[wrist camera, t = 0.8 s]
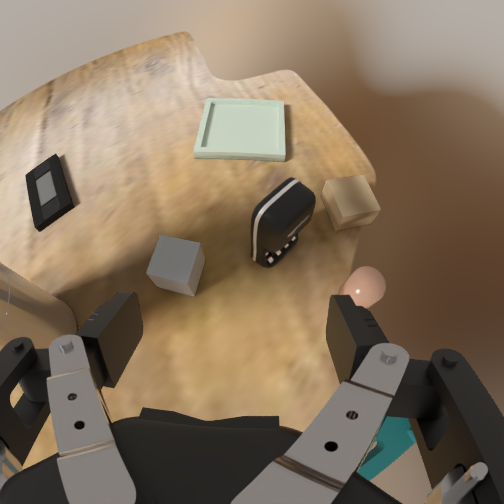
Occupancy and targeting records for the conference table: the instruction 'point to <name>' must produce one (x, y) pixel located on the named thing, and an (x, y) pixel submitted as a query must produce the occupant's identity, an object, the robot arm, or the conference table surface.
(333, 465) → the robot arm
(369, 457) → the bracket
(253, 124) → the tray
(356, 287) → the pink glossy rounded part
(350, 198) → the oak block
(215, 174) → the conference table surface
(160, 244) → the grey box
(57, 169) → the vhs tape
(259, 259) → the battery charger
